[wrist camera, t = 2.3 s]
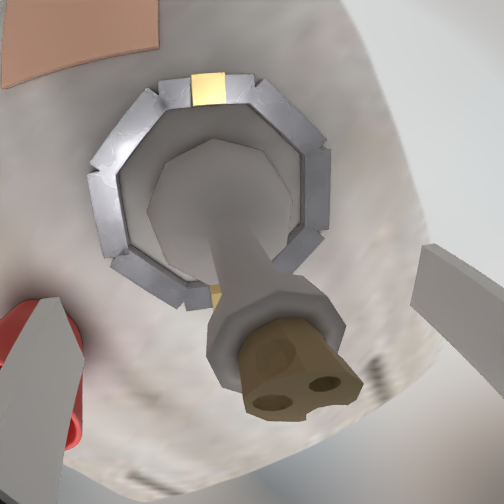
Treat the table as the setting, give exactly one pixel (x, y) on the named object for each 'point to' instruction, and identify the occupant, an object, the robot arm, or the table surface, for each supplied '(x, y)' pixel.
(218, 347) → the potion bottle
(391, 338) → the table surface
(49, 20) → the coaster
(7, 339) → the flower pot
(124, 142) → the collar
